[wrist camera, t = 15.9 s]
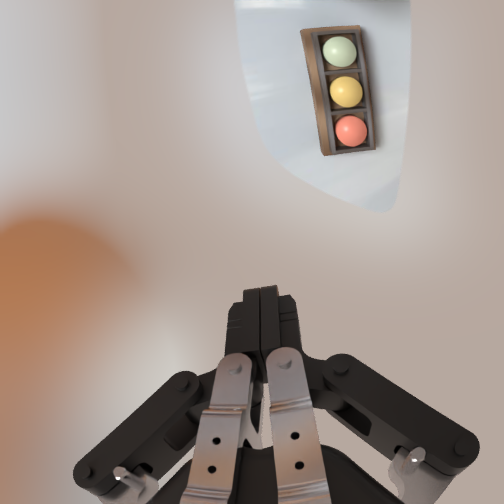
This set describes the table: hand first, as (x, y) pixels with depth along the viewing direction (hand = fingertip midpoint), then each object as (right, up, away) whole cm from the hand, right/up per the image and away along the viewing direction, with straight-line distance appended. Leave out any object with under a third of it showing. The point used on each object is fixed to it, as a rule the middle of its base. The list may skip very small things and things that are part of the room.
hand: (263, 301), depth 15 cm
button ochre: (+9, +20, +16) cm, 27 cm away
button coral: (+10, +16, +19) cm, 27 cm away
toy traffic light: (+9, +21, +18) cm, 29 cm away
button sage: (+9, +23, +14) cm, 28 cm away
